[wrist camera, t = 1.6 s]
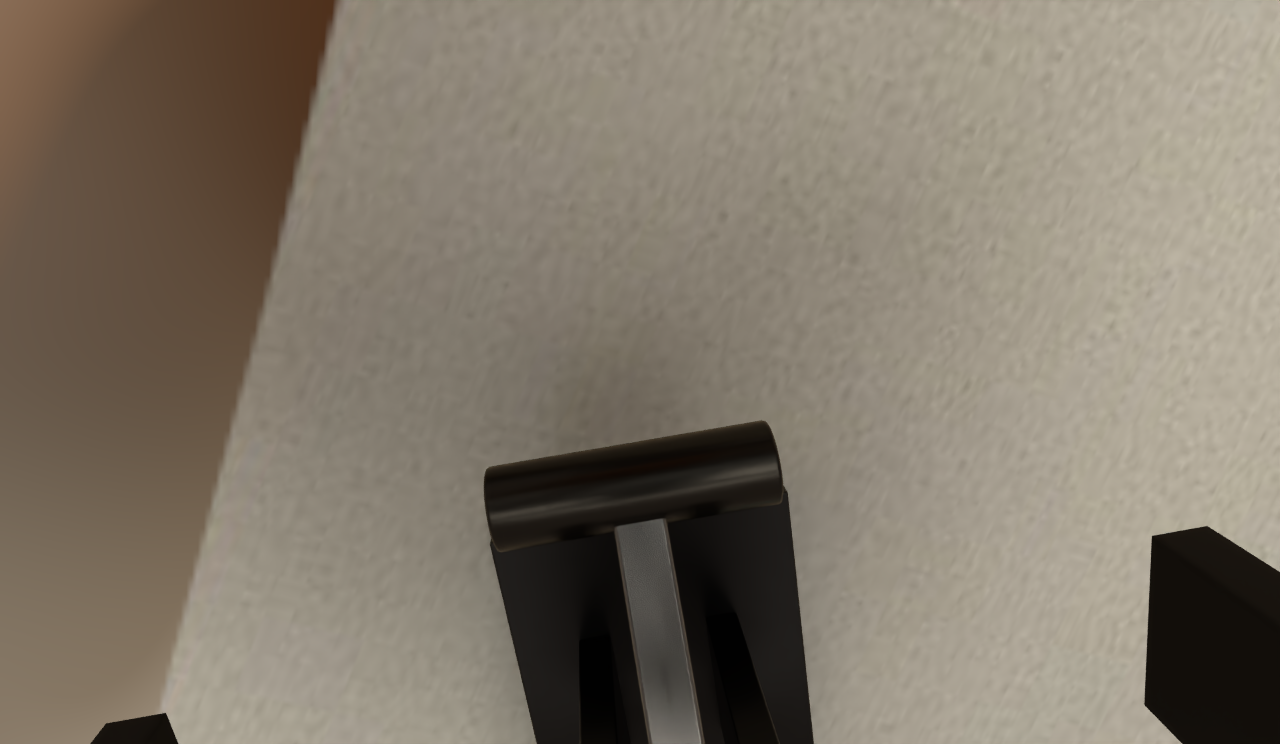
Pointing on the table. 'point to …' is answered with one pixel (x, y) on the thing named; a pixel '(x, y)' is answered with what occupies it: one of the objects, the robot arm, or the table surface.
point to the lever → (641, 534)
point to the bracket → (714, 622)
